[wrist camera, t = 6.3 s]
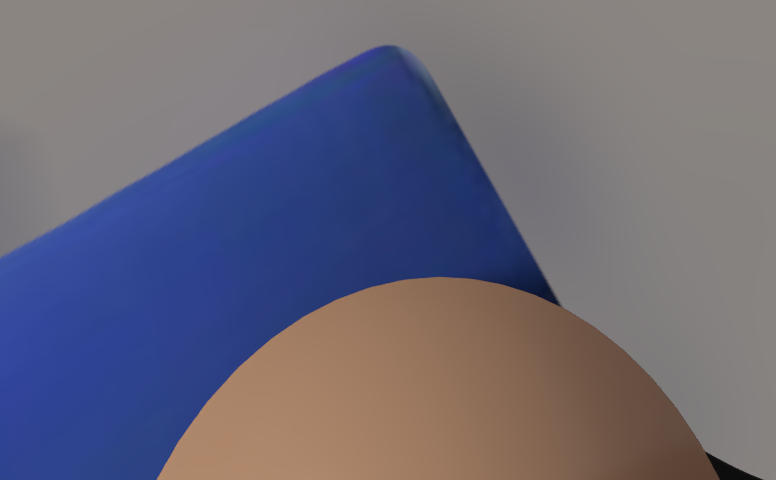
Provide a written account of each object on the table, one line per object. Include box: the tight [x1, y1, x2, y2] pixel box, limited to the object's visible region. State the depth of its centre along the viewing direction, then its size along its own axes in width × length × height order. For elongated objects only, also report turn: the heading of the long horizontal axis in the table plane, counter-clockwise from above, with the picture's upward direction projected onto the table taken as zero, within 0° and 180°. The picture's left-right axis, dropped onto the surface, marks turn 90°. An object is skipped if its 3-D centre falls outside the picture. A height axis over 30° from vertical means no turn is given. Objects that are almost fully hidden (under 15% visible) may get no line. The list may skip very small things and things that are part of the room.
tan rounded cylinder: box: [157, 277, 720, 480], centre depth 8 cm, size 5×5×13 cm
